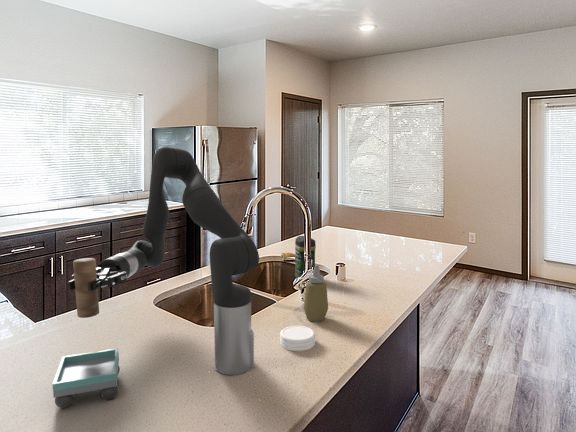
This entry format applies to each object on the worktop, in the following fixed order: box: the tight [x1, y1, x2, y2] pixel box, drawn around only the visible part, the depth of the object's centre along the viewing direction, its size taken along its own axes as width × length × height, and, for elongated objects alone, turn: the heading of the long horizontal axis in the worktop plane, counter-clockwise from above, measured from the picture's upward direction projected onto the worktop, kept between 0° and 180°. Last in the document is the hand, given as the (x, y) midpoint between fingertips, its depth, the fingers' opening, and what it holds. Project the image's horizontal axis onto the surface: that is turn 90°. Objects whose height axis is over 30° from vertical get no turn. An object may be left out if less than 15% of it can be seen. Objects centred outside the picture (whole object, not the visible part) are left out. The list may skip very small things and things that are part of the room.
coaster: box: [279, 325, 316, 352], centre depth 115 cm, size 10×10×4 cm
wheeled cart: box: [52, 348, 121, 409], centre depth 91 cm, size 12×12×6 cm
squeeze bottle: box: [303, 264, 329, 323], centre depth 131 cm, size 8×8×18 cm
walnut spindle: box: [72, 257, 100, 319], centre depth 101 cm, size 5×5×14 cm
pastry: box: [280, 252, 295, 261], centre depth 204 cm, size 9×7×4 cm
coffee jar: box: [294, 235, 317, 279], centre depth 172 cm, size 10×8×19 cm
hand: (79, 286), depth 99 cm, fingers closed on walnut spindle, 5 cm apart
